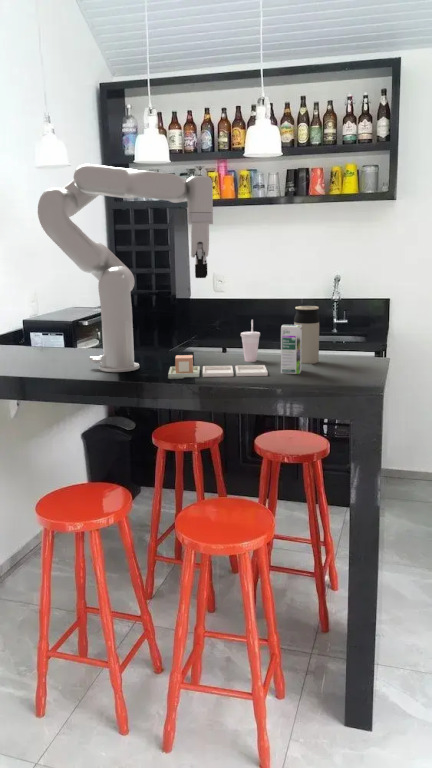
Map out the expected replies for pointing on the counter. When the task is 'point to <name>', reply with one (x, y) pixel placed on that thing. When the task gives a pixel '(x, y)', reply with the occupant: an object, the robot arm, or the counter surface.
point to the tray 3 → (251, 370)
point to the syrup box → (291, 349)
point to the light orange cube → (184, 363)
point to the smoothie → (250, 344)
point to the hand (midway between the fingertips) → (201, 277)
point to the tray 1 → (174, 375)
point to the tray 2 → (217, 371)
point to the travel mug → (308, 332)
